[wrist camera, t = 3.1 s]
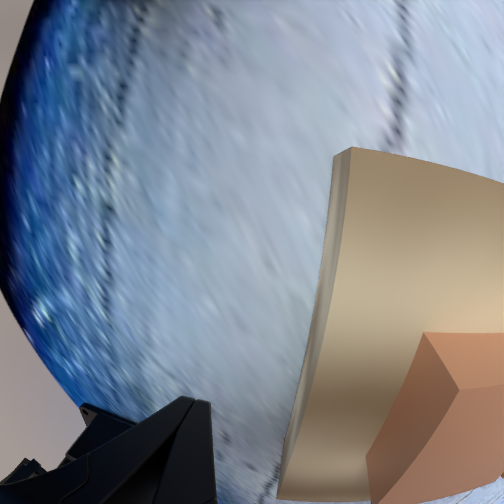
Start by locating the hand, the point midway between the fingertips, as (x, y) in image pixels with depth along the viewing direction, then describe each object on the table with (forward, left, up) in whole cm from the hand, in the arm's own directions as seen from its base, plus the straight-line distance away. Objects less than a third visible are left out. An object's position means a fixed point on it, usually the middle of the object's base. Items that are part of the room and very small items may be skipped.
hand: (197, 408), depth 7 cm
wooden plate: (0, -12, -4) cm, 12 cm away
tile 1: (0, -9, -1) cm, 9 cm away
